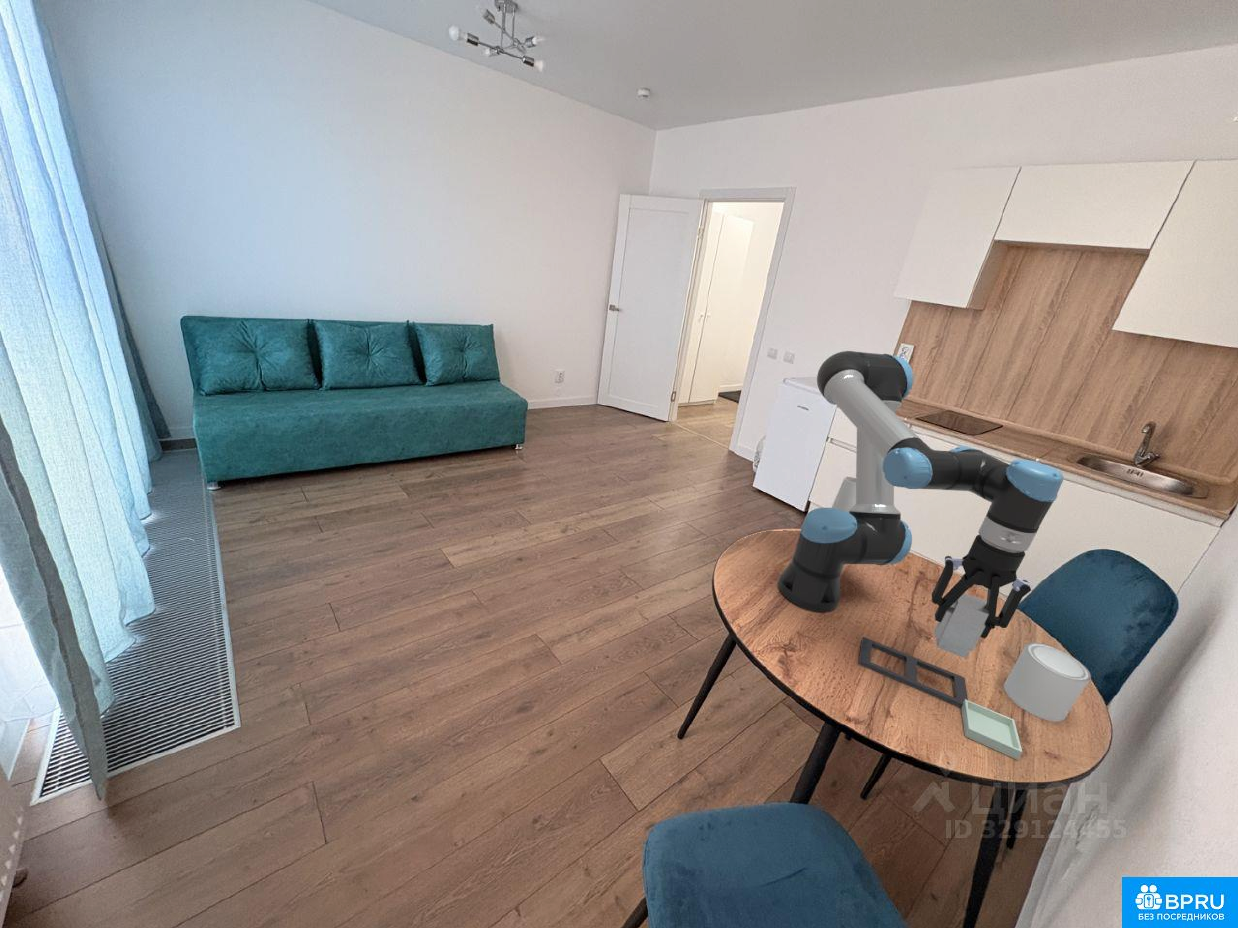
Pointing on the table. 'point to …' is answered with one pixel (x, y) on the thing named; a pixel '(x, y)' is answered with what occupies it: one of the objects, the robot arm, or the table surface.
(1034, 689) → the mug
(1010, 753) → the tray
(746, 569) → the table surface
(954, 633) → the grey rectangular block
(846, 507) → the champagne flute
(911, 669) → the double window frame
